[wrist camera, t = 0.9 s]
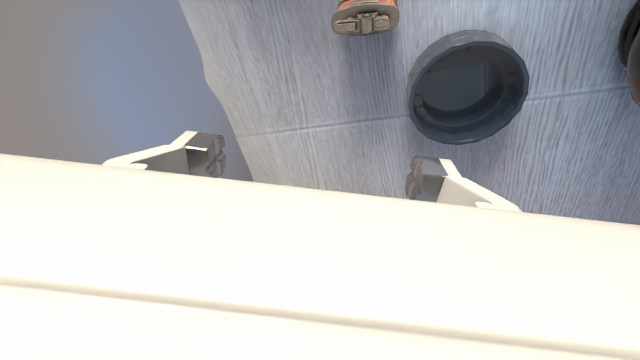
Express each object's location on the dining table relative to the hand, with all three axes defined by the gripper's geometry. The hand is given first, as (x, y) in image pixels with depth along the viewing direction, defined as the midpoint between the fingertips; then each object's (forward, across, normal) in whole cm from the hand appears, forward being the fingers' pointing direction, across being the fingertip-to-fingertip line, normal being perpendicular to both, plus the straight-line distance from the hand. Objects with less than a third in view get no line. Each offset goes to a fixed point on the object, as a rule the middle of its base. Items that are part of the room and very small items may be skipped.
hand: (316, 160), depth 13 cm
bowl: (+37, -19, +4) cm, 42 cm away
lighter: (+37, -4, -5) cm, 38 cm away
